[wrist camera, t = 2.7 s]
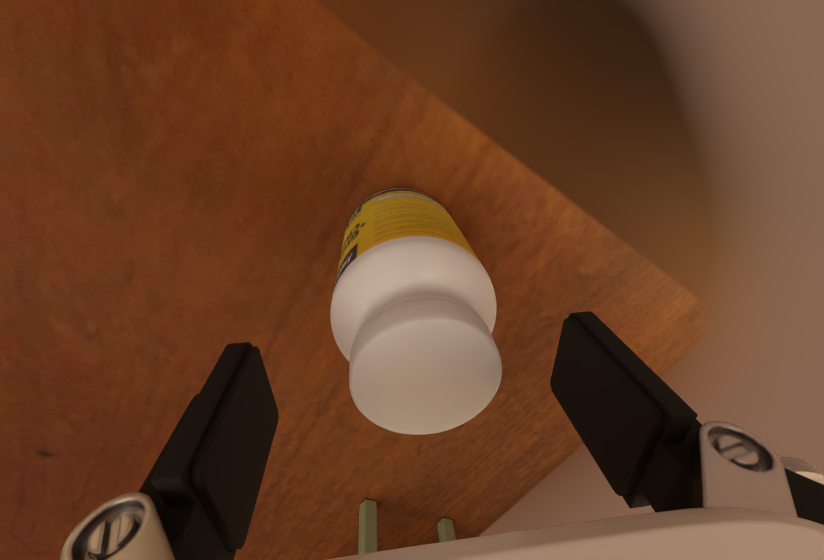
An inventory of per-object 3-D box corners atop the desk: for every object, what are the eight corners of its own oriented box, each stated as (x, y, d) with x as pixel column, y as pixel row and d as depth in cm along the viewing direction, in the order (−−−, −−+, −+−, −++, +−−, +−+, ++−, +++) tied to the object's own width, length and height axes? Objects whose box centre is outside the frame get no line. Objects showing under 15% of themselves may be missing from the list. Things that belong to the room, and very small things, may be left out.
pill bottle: (367, 166, 18) (361, 252, 8) (472, 210, 20) (576, 327, 10) (330, 269, 21) (290, 433, 11) (426, 300, 23) (470, 467, 12)
